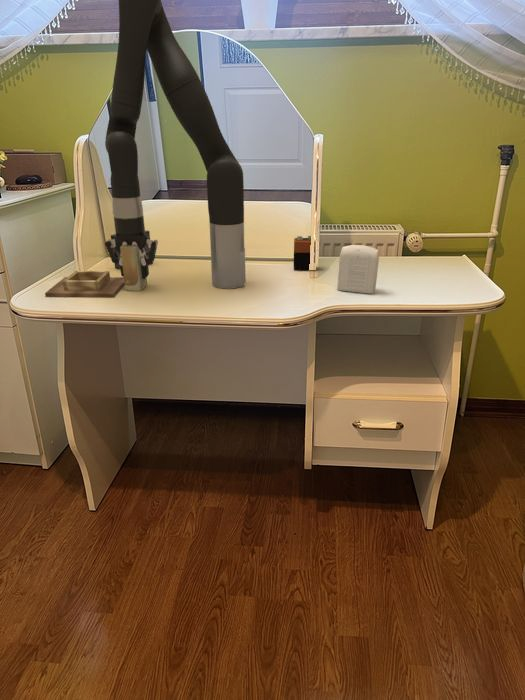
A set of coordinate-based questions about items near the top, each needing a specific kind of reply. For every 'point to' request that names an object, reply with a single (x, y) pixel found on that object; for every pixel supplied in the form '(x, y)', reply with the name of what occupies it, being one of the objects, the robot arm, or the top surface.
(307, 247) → the battery
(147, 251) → the small box
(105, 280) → the cosmetics stand
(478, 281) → the top surface
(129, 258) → the skincare box
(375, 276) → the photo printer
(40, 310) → the top surface
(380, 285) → the top surface
